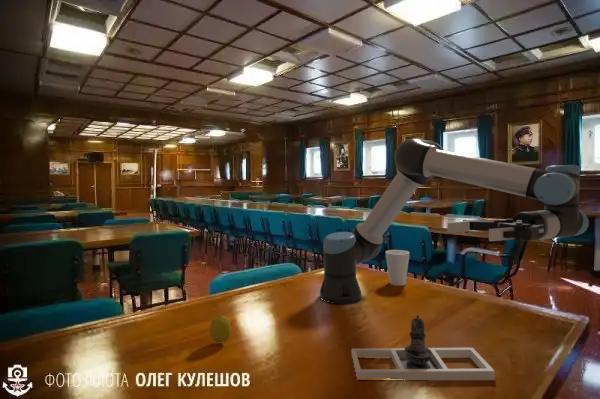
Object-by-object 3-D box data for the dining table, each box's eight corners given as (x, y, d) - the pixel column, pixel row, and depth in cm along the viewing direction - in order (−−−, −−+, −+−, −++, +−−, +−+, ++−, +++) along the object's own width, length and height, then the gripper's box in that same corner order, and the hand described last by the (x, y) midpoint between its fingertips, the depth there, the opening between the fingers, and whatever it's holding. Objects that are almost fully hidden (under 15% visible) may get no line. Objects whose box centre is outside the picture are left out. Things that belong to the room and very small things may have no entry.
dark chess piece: (427, 359, 83) (427, 310, 82) (434, 373, 77) (434, 320, 76) (402, 359, 84) (401, 309, 83) (407, 372, 78) (406, 319, 77)
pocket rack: (356, 380, 76) (356, 371, 76) (351, 356, 86) (351, 348, 86) (494, 380, 75) (494, 370, 74) (472, 355, 85) (472, 347, 85)
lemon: (235, 340, 97) (234, 312, 96) (224, 349, 91) (223, 319, 91) (217, 338, 98) (216, 310, 98) (206, 347, 93) (205, 317, 93)
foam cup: (383, 280, 149) (382, 250, 148) (404, 279, 149) (404, 249, 149) (390, 287, 139) (390, 255, 138) (413, 286, 140) (413, 254, 139)
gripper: (584, 248, 80) (511, 256, 74) (494, 233, 104) (434, 238, 98) (584, 215, 80) (512, 221, 74) (494, 208, 104) (434, 211, 98)
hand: (467, 231), depth 86 cm, fingers open, 13 cm apart
